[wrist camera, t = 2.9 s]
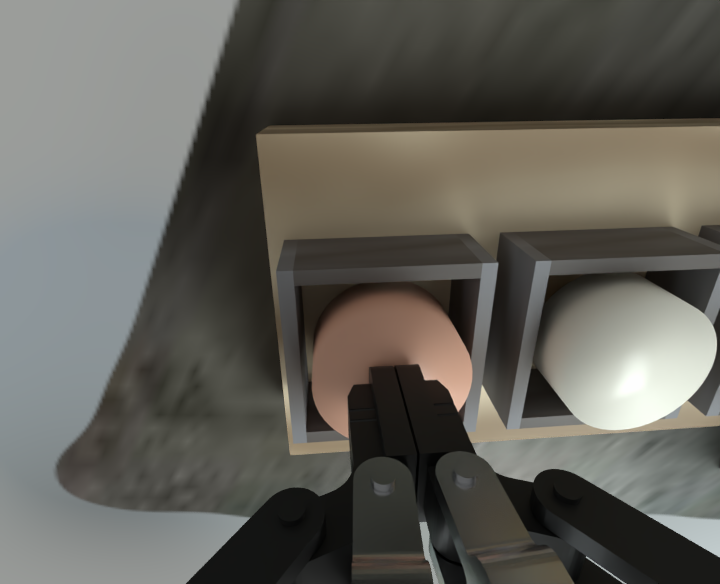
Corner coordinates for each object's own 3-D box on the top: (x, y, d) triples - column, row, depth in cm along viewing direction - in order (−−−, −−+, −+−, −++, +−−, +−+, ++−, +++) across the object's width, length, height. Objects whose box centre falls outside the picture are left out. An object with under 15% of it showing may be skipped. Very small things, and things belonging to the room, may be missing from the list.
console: (269, 125, 18) (239, 144, 11) (813, 116, 19) (1054, 128, 13) (295, 399, 23) (284, 512, 17) (707, 374, 25) (837, 470, 19)
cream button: (541, 272, 15) (580, 304, 13) (678, 266, 15) (740, 296, 13) (520, 389, 17) (550, 434, 15) (640, 381, 17) (688, 425, 15)
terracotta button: (309, 281, 14) (306, 317, 12) (456, 275, 15) (480, 309, 12) (317, 401, 16) (316, 450, 14) (445, 393, 17) (464, 440, 14)
